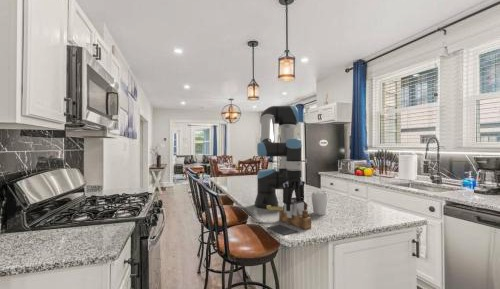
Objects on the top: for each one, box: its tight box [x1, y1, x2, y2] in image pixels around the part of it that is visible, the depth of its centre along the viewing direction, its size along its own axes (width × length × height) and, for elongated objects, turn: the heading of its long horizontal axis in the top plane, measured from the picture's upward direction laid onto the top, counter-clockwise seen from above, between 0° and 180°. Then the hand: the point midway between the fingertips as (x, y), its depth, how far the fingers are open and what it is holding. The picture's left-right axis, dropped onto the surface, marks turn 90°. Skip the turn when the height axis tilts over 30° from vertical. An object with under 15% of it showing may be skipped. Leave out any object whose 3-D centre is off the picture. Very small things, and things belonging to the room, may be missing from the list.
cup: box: [311, 190, 329, 216], centre depth 150 cm, size 9×9×12 cm
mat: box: [266, 223, 298, 236], centre depth 121 cm, size 12×8×1 cm, turn 35°
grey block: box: [283, 200, 305, 216], centre depth 130 cm, size 9×5×7 cm, turn 35°
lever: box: [266, 205, 283, 211], centre depth 137 cm, size 2×8×2 cm, turn 76°
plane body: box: [278, 204, 312, 230], centre depth 130 cm, size 18×4×8 cm, turn 35°
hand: (293, 216), depth 130 cm, fingers closed on grey block, 5 cm apart
